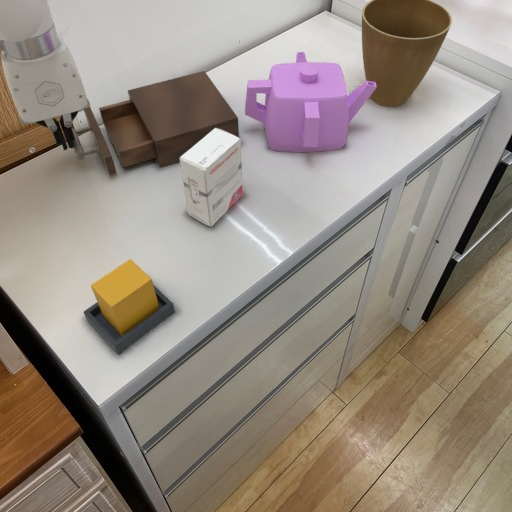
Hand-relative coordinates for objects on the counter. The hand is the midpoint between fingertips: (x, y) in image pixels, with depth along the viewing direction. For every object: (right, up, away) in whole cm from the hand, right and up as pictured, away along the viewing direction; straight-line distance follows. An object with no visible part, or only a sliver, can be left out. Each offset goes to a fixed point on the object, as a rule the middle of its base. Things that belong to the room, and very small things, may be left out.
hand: (67, 144), depth 88 cm
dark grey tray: (+14, -26, -17) cm, 34 cm away
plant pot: (+57, +12, +14) cm, 60 cm away
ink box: (+25, -11, -4) cm, 27 cm away
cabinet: (+18, +4, +8) cm, 21 cm away
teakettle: (+40, +4, +8) cm, 41 cm away
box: (+15, -26, -17) cm, 34 cm away
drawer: (+9, +1, +5) cm, 10 cm away
